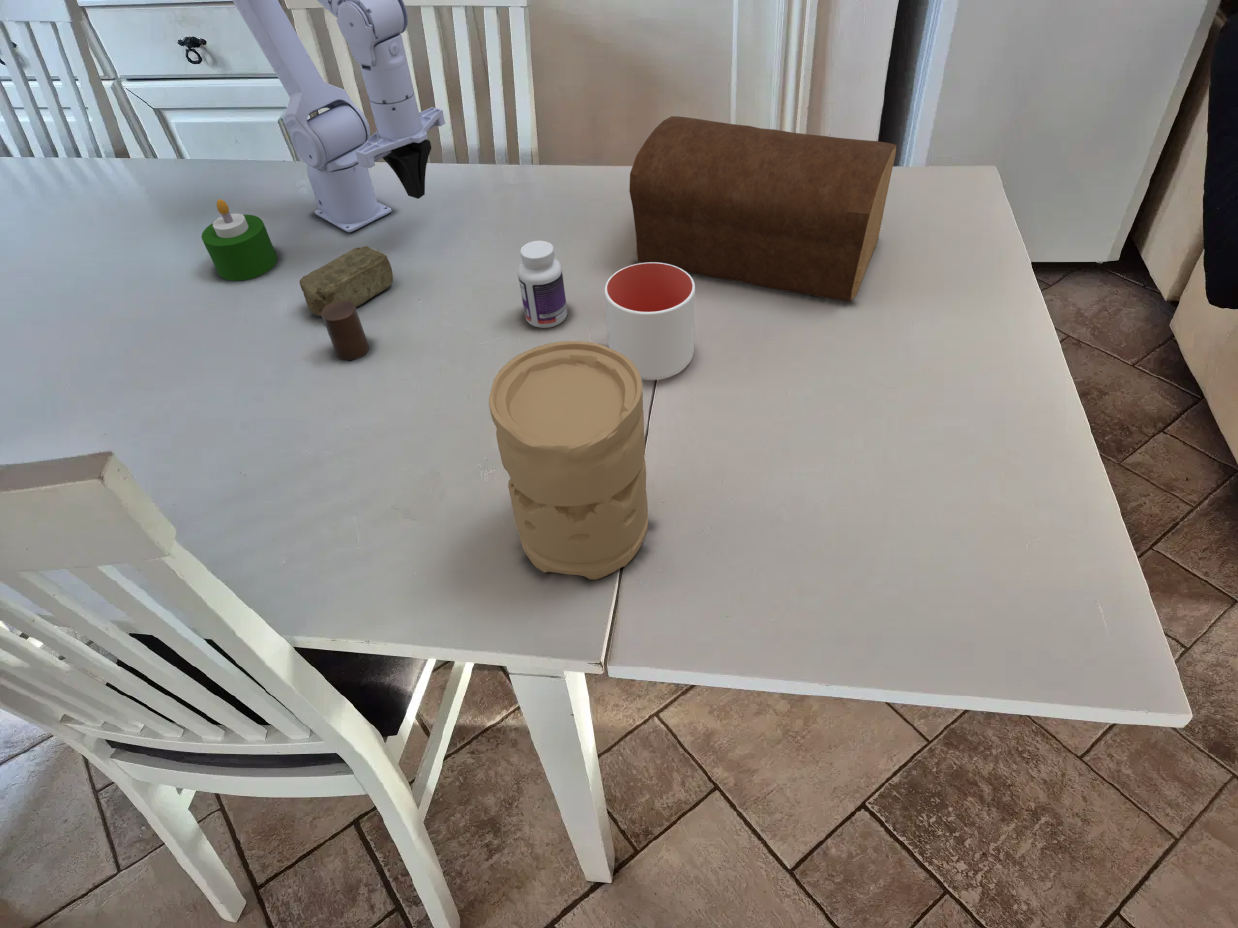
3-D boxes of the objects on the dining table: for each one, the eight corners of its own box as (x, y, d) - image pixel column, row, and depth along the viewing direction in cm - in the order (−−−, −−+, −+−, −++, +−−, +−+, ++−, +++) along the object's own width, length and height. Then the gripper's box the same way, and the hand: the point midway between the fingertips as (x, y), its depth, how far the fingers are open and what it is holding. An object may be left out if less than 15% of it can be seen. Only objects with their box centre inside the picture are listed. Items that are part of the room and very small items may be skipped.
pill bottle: (574, 309, 104) (567, 241, 97) (555, 333, 101) (546, 265, 94) (538, 300, 106) (528, 233, 99) (517, 323, 103) (505, 256, 96)
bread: (677, 204, 121) (676, 95, 110) (880, 237, 112) (903, 122, 100) (630, 269, 110) (624, 154, 98) (851, 311, 101) (874, 190, 89)
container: (655, 574, 75) (650, 434, 62) (519, 587, 74) (485, 449, 61) (641, 475, 83) (634, 334, 70) (519, 487, 83) (490, 347, 70)
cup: (703, 339, 98) (705, 268, 91) (680, 392, 92) (680, 320, 85) (625, 326, 101) (621, 256, 94) (597, 377, 95) (591, 305, 87)
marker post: (330, 352, 101) (314, 312, 96) (356, 336, 103) (342, 296, 98) (348, 364, 99) (333, 324, 94) (375, 348, 101) (361, 308, 96)
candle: (231, 287, 112) (200, 222, 105) (208, 264, 116) (177, 200, 109) (287, 264, 115) (261, 199, 108) (262, 242, 120) (236, 178, 113)
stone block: (399, 284, 110) (389, 252, 107) (331, 327, 104) (318, 295, 101) (372, 271, 113) (362, 239, 109) (304, 312, 107) (291, 280, 103)
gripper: (373, 123, 97) (401, 226, 106) (453, 79, 105) (472, 178, 115) (332, 112, 100) (363, 213, 109) (412, 70, 108) (434, 168, 117)
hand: (416, 195), depth 112 cm, fingers closed
